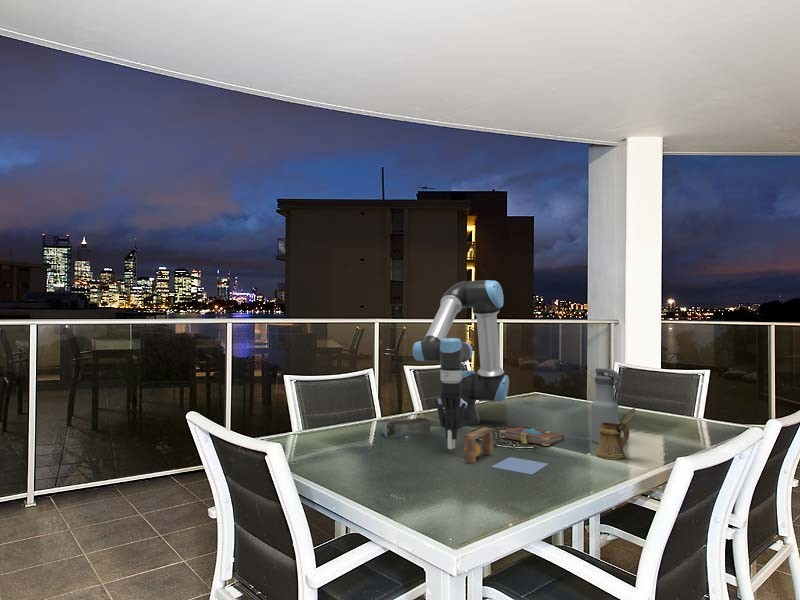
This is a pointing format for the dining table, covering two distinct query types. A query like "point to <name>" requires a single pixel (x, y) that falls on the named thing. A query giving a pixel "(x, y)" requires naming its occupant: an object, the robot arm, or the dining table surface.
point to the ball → (476, 449)
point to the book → (532, 436)
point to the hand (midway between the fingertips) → (451, 448)
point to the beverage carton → (406, 427)
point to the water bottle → (605, 400)
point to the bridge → (471, 444)
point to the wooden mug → (614, 438)
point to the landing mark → (520, 465)
